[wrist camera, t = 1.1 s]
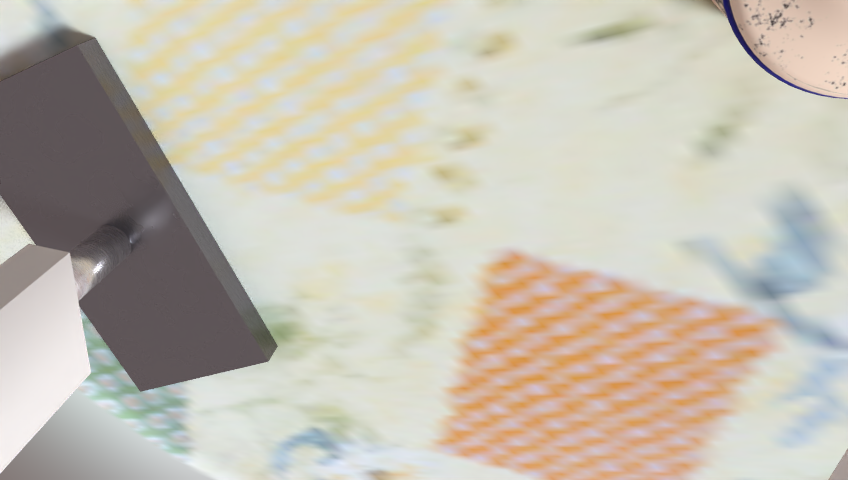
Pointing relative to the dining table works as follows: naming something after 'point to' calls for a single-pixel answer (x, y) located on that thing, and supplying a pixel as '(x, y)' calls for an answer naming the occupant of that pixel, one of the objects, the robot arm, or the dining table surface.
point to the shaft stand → (122, 223)
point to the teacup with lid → (795, 40)
